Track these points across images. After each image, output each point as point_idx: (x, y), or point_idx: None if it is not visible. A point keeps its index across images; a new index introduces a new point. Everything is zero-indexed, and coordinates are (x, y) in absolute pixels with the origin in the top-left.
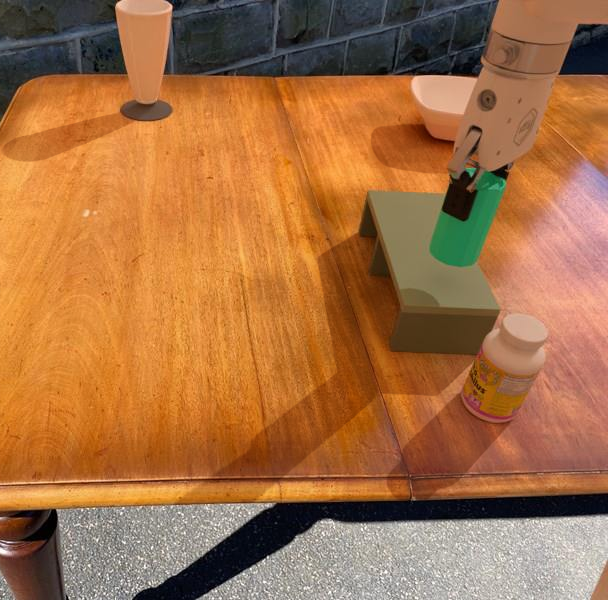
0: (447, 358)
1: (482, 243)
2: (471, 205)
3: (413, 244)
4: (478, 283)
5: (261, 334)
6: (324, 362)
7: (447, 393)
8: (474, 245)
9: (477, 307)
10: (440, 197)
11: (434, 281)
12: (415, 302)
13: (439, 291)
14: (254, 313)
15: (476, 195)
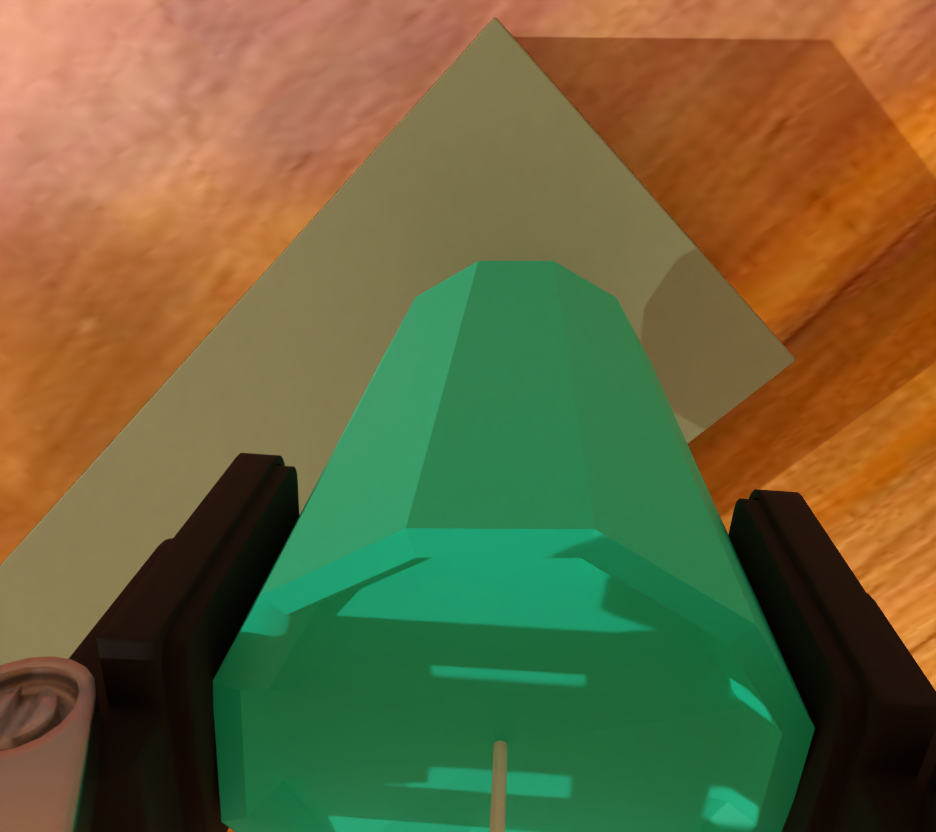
0: (614, 122)
1: (504, 295)
2: (856, 583)
3: None
4: (390, 208)
5: (931, 600)
6: (926, 408)
7: (792, 17)
8: (591, 318)
9: (570, 114)
10: None
11: None
12: (742, 338)
13: None
14: None
15: (857, 655)
